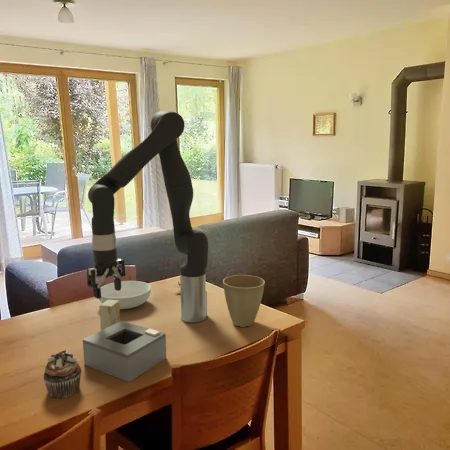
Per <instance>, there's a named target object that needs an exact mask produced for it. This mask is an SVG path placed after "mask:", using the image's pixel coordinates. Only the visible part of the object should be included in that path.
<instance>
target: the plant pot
mask: <svg viewBox="0 0 450 450" xmlns="http://www.w3.org/2000/svg"><path fill="white" fill-rule="evenodd" d="M222 283H223V284H222V285H223V292H224V298H225V302H226V306H227V310H228V313H229V316H230V320H231V322H232V324H233V326H236V327H238V326H240V328H247V327H246V326H249V327H251V326H253V325H252V324H254V323H255V321H256V317H257V315H258V312H259V311H260V306H261V303H262V299H263V295H264V291H265V290H264V289H265V285H266V284H265V283H266V281H265V280H264V279H263V278H262V277H260V276H255V275H250V274H235V275H231V276H227V277H224V279H222ZM250 325H251V326H250Z"/></svg>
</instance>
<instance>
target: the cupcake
mask: <svg viewBox="0 0 450 450" xmlns="http://www.w3.org/2000/svg"><path fill="white" fill-rule="evenodd" d="M47 361H48V362H47V363H46V365H45V367H44V374H43V377H42V379H43V381H44V384H45V388H46V390H47V394H48V396H49V397H51V398H52V399H64V398H68V397H71V396H73V395H75V394H76V393H78V391H79V390H80V385H81V384H80V383H81V377H82V372H83V371H82V367H81V365H80V364H79V362H78V361H77V356H74V354H72V353H69V352H68V351H67V350H62V351H59V352H58V353H56V354H51V355H50V356H48V357H47Z"/></svg>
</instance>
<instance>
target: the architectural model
mask: <svg viewBox="0 0 450 450" xmlns="http://www.w3.org/2000/svg"><path fill="white" fill-rule="evenodd" d="M172 286H173V287H176V288H179V290H180V292H181V289H180V281H178V282H177V283H176V284H175V283H174V284H173V285H172Z"/></svg>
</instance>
